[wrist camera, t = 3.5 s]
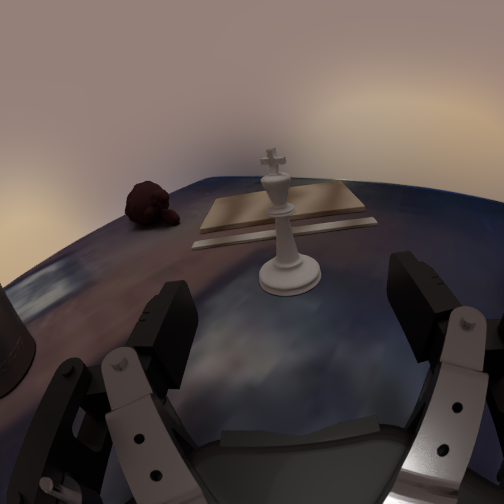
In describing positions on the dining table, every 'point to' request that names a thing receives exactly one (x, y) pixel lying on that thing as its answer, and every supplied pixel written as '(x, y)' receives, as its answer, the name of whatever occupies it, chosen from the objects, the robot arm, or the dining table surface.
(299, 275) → the chess piece
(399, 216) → the dining table surface
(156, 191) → the dark brown lumpy figurine
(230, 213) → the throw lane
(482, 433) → the dining table surface
